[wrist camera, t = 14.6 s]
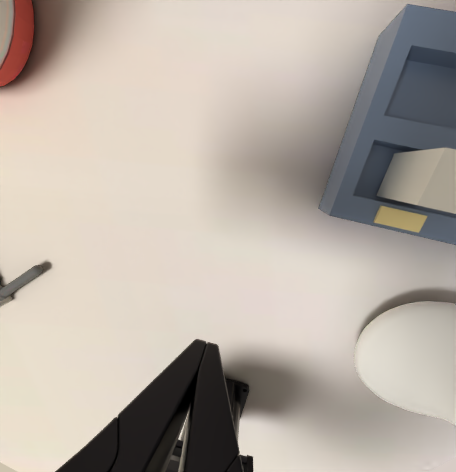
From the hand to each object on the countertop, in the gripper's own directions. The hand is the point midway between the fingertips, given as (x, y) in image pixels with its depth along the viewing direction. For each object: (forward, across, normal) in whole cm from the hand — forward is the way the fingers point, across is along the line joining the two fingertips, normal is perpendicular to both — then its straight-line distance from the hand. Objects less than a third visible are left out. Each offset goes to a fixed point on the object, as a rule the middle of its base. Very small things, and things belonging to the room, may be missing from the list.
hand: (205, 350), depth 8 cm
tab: (+11, -11, -8) cm, 18 cm away
